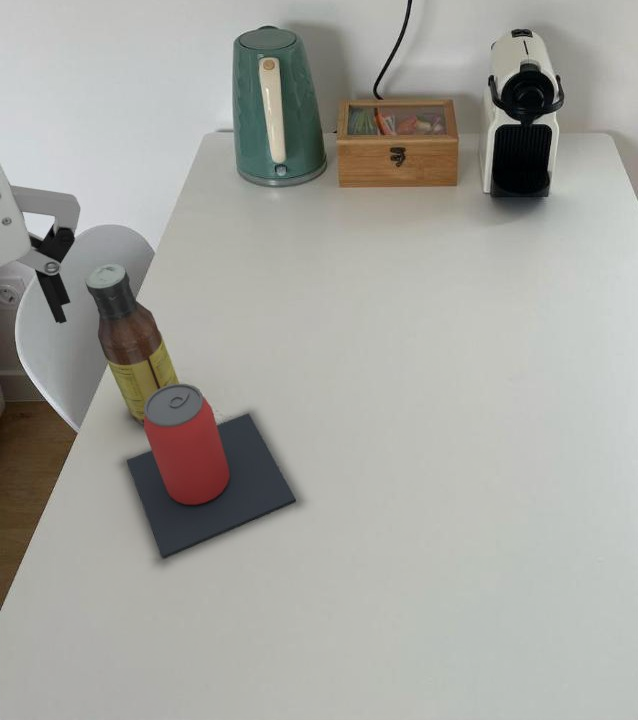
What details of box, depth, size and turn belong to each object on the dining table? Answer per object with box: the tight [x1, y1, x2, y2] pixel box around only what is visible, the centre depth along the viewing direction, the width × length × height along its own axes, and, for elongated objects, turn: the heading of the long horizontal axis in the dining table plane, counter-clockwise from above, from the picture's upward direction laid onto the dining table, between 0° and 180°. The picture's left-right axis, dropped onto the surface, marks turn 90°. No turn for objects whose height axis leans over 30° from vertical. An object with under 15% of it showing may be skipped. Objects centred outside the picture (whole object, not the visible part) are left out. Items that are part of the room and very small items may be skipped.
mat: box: [126, 412, 297, 559], centre depth 86 cm, size 14×14×1 cm
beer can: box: [143, 383, 230, 505], centre depth 81 cm, size 7×7×12 cm
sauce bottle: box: [84, 263, 181, 426], centre depth 87 cm, size 6×6×20 cm
